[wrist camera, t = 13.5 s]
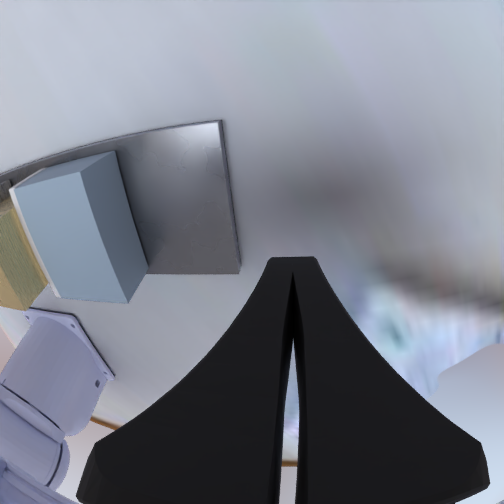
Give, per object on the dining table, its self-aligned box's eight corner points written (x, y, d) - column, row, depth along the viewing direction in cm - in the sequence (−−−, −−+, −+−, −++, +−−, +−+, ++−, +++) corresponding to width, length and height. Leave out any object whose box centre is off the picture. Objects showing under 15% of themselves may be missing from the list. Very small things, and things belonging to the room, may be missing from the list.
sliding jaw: (149, 268, 16) (128, 304, 14) (78, 268, 17) (55, 298, 15) (114, 149, 13) (79, 170, 10) (41, 168, 13) (7, 190, 11)
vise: (241, 265, 17) (230, 313, 14) (28, 265, 19) (2, 294, 16) (221, 119, 12) (198, 136, 9) (-8, 177, 15) (-42, 200, 12)
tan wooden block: (73, 254, 17) (26, 311, 12) (41, 254, 17) (-4, 305, 13) (47, 183, 14) (-16, 231, 9) (16, 191, 15) (-40, 235, 10)
